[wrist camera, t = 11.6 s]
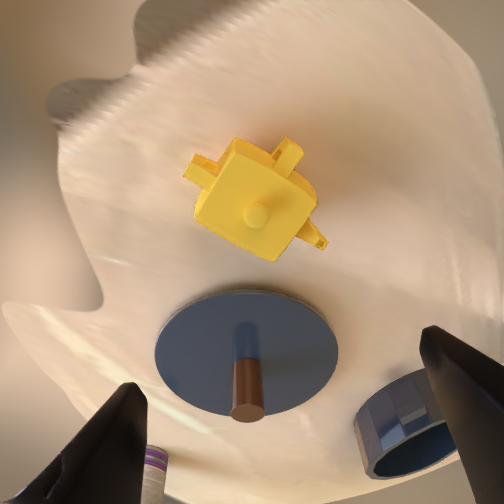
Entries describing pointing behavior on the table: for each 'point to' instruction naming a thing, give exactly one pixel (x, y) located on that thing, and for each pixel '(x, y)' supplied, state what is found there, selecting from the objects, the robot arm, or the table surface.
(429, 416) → the pot
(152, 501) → the container
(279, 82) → the table surface
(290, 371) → the lid
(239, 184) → the teapot
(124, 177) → the table surface
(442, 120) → the table surface
